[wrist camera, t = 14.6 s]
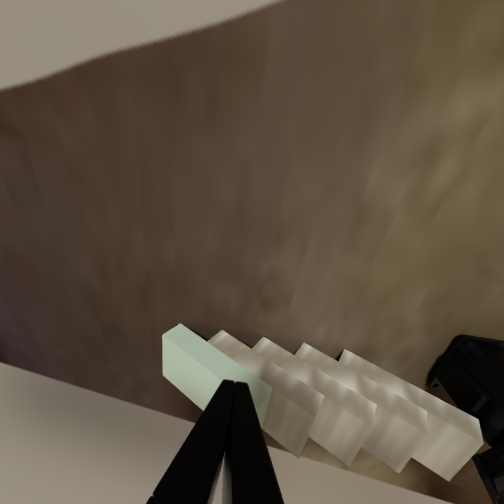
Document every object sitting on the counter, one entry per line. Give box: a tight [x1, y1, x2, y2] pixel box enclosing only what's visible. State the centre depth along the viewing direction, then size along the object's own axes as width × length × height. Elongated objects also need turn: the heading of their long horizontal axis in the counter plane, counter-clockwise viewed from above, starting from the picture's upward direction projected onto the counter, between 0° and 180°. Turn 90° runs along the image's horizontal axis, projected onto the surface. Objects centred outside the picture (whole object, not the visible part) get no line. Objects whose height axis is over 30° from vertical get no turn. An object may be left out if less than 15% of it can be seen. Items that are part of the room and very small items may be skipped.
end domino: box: [339, 349, 484, 481], centre depth 21 cm, size 2×5×10 cm
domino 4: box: [295, 343, 428, 473], centre depth 21 cm, size 2×5×10 cm
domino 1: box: [162, 324, 272, 428], centre depth 20 cm, size 2×5×10 cm
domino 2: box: [207, 330, 324, 458], centre depth 20 cm, size 2×5×10 cm
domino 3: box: [252, 337, 377, 467], centre depth 20 cm, size 2×5×10 cm
